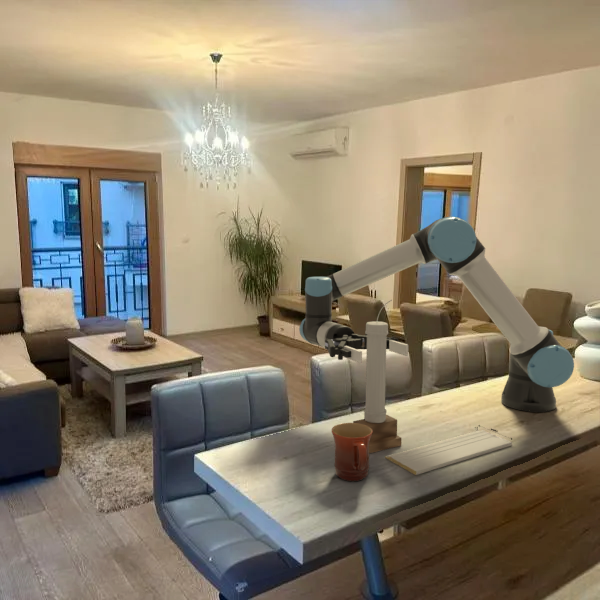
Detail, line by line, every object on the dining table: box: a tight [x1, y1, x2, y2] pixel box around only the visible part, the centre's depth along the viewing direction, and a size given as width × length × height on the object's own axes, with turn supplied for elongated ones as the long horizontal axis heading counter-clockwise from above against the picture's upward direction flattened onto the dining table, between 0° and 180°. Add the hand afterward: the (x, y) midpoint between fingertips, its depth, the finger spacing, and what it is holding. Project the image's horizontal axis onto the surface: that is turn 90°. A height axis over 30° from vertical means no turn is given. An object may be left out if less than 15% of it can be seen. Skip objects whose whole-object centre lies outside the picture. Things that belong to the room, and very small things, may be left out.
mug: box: [331, 422, 373, 482], centre depth 115 cm, size 12×9×10 cm
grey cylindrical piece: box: [363, 299, 393, 423], centre depth 131 cm, size 6×6×30 cm
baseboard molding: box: [384, 424, 513, 476], centre depth 129 cm, size 31×3×12 cm
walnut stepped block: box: [352, 414, 402, 454], centre depth 133 cm, size 10×8×6 cm
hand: (384, 353), depth 128 cm, fingers open, 13 cm apart
